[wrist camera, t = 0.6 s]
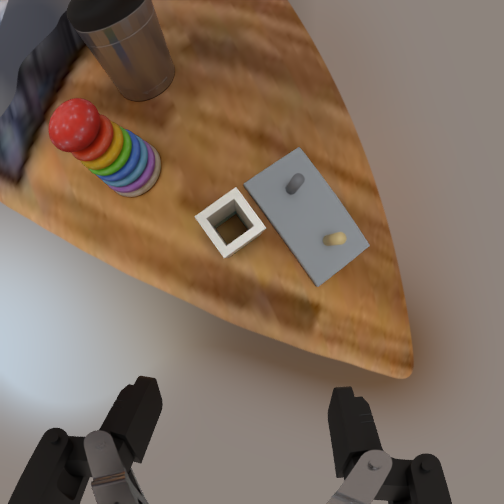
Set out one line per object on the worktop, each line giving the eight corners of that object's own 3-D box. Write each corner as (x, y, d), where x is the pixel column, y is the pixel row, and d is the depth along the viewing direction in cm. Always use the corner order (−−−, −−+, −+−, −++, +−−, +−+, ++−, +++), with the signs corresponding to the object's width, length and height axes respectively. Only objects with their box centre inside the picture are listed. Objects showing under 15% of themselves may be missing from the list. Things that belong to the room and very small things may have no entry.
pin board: (243, 186, 37) (243, 172, 31) (297, 150, 37) (307, 132, 31) (315, 285, 37) (329, 291, 31) (366, 245, 38) (387, 244, 31)
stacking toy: (138, 133, 37) (78, 61, 18) (174, 166, 37) (123, 98, 18) (100, 174, 36) (20, 127, 18) (134, 209, 37) (54, 175, 18)
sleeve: (206, 227, 37) (194, 216, 27) (237, 205, 37) (236, 187, 27) (228, 257, 37) (224, 258, 27) (259, 235, 37) (266, 227, 27)
